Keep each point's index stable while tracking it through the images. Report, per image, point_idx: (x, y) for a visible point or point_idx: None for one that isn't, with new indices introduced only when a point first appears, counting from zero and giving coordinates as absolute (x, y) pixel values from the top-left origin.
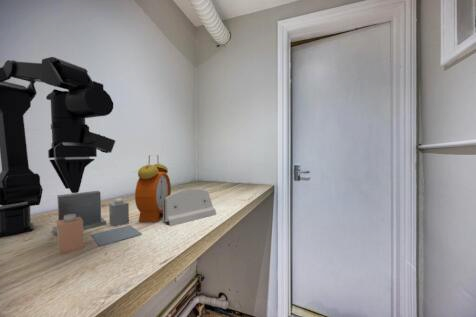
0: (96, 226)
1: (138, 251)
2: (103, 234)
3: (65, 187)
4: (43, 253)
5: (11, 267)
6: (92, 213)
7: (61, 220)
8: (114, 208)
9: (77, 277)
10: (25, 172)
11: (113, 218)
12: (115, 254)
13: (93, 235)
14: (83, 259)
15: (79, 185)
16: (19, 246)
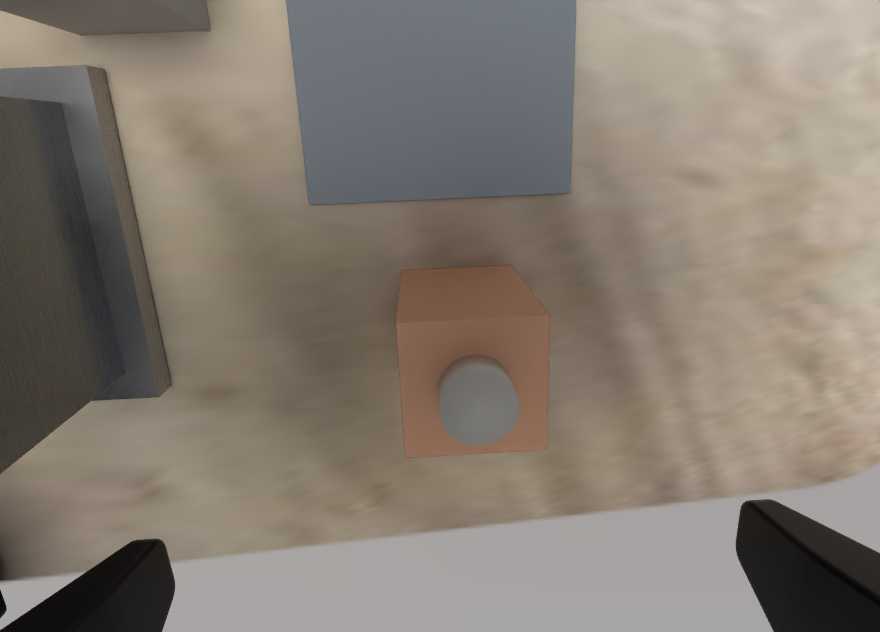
0: (119, 145)
1: (833, 18)
2: (374, 136)
3: (167, 606)
4: None
5: (512, 506)
6: (18, 174)
7: (423, 434)
8: None
9: (834, 314)
10: None
11: (180, 11)
12: (754, 140)
13: (347, 195)
14: (674, 280)
15: (865, 555)
16: (243, 510)
